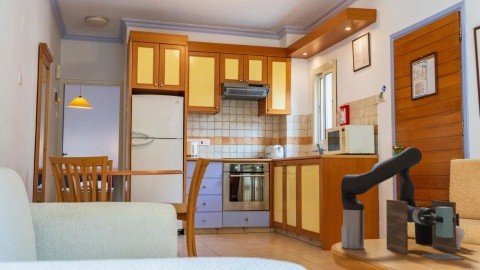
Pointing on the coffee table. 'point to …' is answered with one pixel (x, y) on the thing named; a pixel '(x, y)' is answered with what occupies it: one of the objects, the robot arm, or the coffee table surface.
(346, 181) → the robot arm
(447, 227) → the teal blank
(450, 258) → the slate mat
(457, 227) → the lightbulb
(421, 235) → the pen holder
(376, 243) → the coffee table surface
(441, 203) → the wooden divider stand
